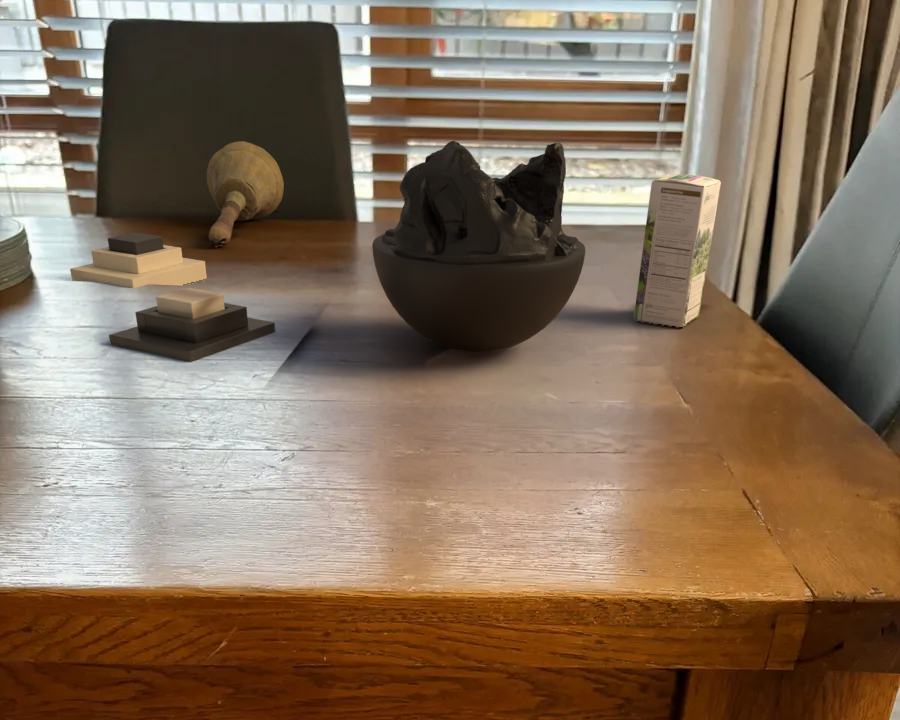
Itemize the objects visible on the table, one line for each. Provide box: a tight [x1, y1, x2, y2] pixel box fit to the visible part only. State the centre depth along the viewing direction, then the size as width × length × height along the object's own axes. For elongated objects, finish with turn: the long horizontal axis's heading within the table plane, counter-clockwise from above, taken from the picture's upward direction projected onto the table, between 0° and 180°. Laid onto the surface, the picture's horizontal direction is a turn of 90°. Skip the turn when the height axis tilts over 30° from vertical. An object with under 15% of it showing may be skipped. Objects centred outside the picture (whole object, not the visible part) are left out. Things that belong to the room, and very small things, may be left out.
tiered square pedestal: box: [108, 302, 276, 363], centre depth 93 cm, size 12×10×4 cm
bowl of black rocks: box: [371, 140, 586, 353], centre depth 92 cm, size 20×20×19 cm
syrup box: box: [633, 173, 722, 328], centre depth 104 cm, size 6×6×14 cm
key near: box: [155, 287, 225, 319], centre depth 92 cm, size 4×4×2 cm
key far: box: [107, 232, 164, 255], centre depth 115 cm, size 4×4×2 cm
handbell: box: [206, 140, 285, 247], centre depth 143 cm, size 12×12×25 cm
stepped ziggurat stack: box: [69, 244, 208, 289], centre depth 117 cm, size 12×10×4 cm
